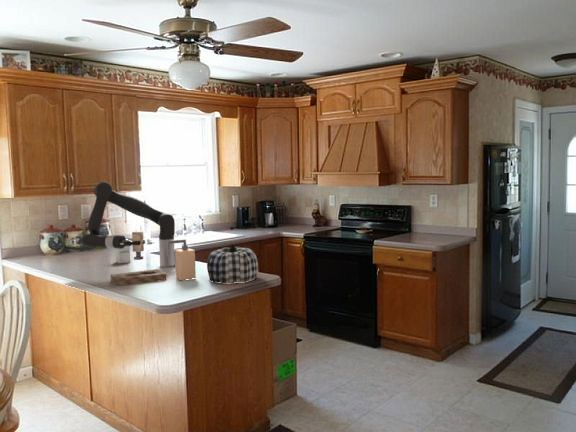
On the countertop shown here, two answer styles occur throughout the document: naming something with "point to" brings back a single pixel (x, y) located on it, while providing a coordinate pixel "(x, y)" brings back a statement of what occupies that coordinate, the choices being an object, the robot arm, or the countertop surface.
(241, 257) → the decorative pumpkin
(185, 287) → the countertop surface
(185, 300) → the countertop surface
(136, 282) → the walnut keyhole board
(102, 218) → the robot arm
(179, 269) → the soap dispenser
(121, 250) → the supplement box
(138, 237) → the birch peg
